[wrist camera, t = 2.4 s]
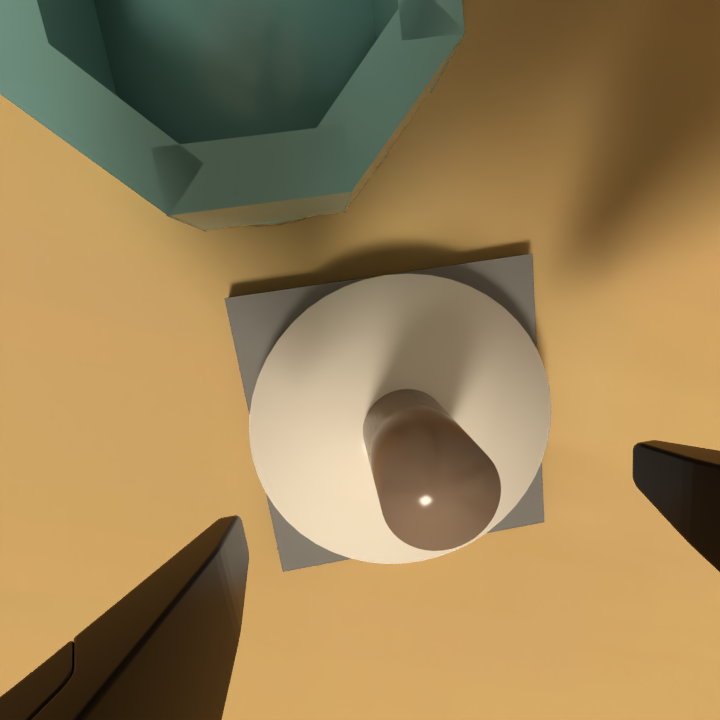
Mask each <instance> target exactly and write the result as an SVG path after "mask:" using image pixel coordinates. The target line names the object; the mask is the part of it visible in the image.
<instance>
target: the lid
mask: <svg viewBox="0 0 720 720" xmlns="http://www.w3.org/2000/svg"><path fill="white" fill-rule="evenodd" d="M550 425H551V397H550V387H549V383H548V379H547V375H546V371H545V368H544V365H543V363H542V360H541V357H540V355H539V352H538V350H537V349H536V347H535V345H534V343H533V342H532V340H531V338H530V336H529V335H528V334H527V332H526V331H525V330H524V328H523V327H522V326H521V325H520V323H519V322H518V321H517V320H516V319H515V318H514V317H513V316H512V315H511V314H510V313H509V312H508V311H507V310H506V309H505V308H504V307H503V306H501V305H500V304H499V303H497V302H496V301H494V300H493V299H492V298H490V297H489V296H487V295H486V294H484V293H482V292H480V291H478V290H476V289H474V288H472V287H470V286H468V285H465V284H462V283H460V282H457V281H454V280H451V279H447V278H442V277H437V276H432V275H423V274H395V275H382V276H377V277H373V278H368V279H363V280H360V281H357V282H355V283H352V284H349V285H346V286H343V287H341V288H339V289H338V290H336V291H334V292H332V293H330V294H328V295H326V296H324V297H323V298H321V299H320V300H319V301H317V302H316V303H314V304H313V305H311V306H310V307H308V308H307V309H306V310H305V311H304V312H303V313H302V314H301V315H300V316H299V317H298V318H296V319H295V320H294V321H293V322H292V324H291V325H290V326H289V327H288V328H287V330H286V331H285V332H284V333H283V334H282V336H281V337H280V338H279V339H278V341H277V342H276V344H275V346H274V347H273V349H272V350H271V352H270V354H269V355H268V357H267V358H266V361H265V363H264V365H263V367H262V369H261V372H260V374H259V376H258V379H257V382H256V386H255V389H254V393H253V396H252V402H251V408H250V415H249V439H250V446H251V453H252V458H253V461H254V465H255V468H256V472H257V475H258V477H259V479H260V482H261V484H262V486H263V488H264V490H265V492H266V494H267V495H268V497H269V499H270V500H271V502H272V503H273V505H274V506H275V508H276V509H277V510H278V511H279V512H280V514H281V515H282V516H283V517H284V518H285V520H286V521H287V522H288V523H289V524H291V525H292V526H293V527H294V528H295V529H296V530H297V531H298V532H300V533H301V534H302V535H304V536H305V537H307V538H308V539H309V540H311V541H312V542H314V543H315V544H317V545H319V546H321V547H323V548H325V549H327V550H329V551H331V552H334V553H336V554H339V555H342V556H345V557H348V558H351V559H356V560H360V561H365V562H372V563H382V564H400V563H410V562H418V561H423V560H427V559H431V558H435V557H439V556H442V555H445V554H447V553H450V552H453V551H455V550H457V549H459V548H461V547H463V546H465V545H467V544H469V543H471V542H473V541H475V540H476V539H478V538H479V537H481V536H482V535H484V534H485V533H487V532H488V531H489V530H491V529H492V528H493V527H494V526H496V525H497V524H498V523H499V522H500V521H502V520H503V519H504V518H505V516H506V515H507V514H508V513H509V512H510V511H511V510H512V509H513V508H514V507H515V506H516V505H517V503H518V502H519V501H520V499H521V498H522V497H523V495H524V494H525V493H526V491H527V489H528V488H529V486H530V484H531V483H532V481H533V479H534V478H535V476H536V473H537V471H538V469H539V467H540V464H541V462H542V460H543V456H544V453H545V450H546V446H547V443H548V438H549V432H550Z"/></svg>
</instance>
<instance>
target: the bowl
mask: <svg viewBox="0 0 720 720" xmlns="http://www.w3.org/2000/svg"><path fill="white" fill-rule="evenodd" d="M464 34H465V30H464V16H463V2H462V0H0V94H1V95H2V96H4V97H5V98H6V99H8V100H9V101H11V102H12V103H13V104H15V105H16V106H18V107H19V108H20V109H22V110H23V111H24V112H26V113H27V114H29V115H30V116H31V117H33V118H34V119H35V120H37V121H38V122H40V123H41V124H42V125H44V126H45V127H47V128H48V129H49V130H51V131H52V132H53V133H55V134H56V135H58V136H59V137H60V138H62V139H63V140H64V141H66V142H67V143H69V144H70V145H71V146H73V147H74V148H76V149H77V150H78V151H80V152H81V153H82V154H84V155H85V156H87V157H88V158H89V159H91V160H92V161H93V162H95V163H96V164H98V165H99V166H100V167H102V168H103V169H105V170H106V171H107V172H109V173H110V174H111V175H113V176H114V177H116V178H117V179H118V180H120V181H121V182H122V183H124V184H125V185H127V186H128V187H129V188H131V189H132V190H134V191H135V192H136V193H138V194H139V195H140V196H142V197H143V198H145V199H146V200H147V201H149V202H150V203H151V204H153V205H154V206H156V207H157V208H158V209H160V210H161V211H163V212H164V213H165V214H167V216H169V217H171V218H173V219H176V220H178V221H181V222H183V223H186V224H188V225H191V226H193V227H196V228H198V229H200V230H203V231H207V230H215V229H222V228H230V227H237V226H271V225H281V224H286V223H291V222H296V221H300V220H303V219H306V218H308V217H312V216H319V215H327V214H334V213H342V212H346V210H347V208H348V207H349V205H350V204H351V203H352V201H353V200H354V198H355V197H356V196H357V194H358V193H359V191H360V190H361V189H362V187H363V186H364V184H365V183H366V182H367V180H368V179H369V177H370V176H371V175H372V174H373V172H374V171H375V170H376V169H377V168H378V166H379V165H380V164H381V163H382V161H383V160H384V158H385V157H386V155H387V153H388V152H389V150H390V149H391V147H392V145H393V144H394V142H395V141H396V139H397V138H398V137H399V135H400V134H401V132H402V131H403V130H404V128H405V127H406V125H407V124H408V123H409V121H410V120H411V118H412V117H413V116H414V114H415V113H416V111H417V110H418V109H419V107H420V106H421V104H422V103H423V102H424V100H425V99H426V97H427V96H428V95H429V93H431V91H432V90H433V88H434V86H435V84H436V83H437V81H438V79H439V77H440V76H441V74H442V72H443V71H444V69H445V67H446V65H447V64H448V62H449V60H450V58H451V57H452V55H453V53H454V52H455V50H456V48H457V46H458V45H459V43H460V41H461V40H462V38H463V36H464Z"/></svg>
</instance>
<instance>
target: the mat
mask: <svg viewBox="0 0 720 720" xmlns="http://www.w3.org/2000/svg"><path fill="white" fill-rule="evenodd" d="M395 274H423V275H432V276H437V277H442V278H447V279H451V280H454V281H457V282H460V283H462V284H465V285H468V286H470V287H472V288H474V289H476V290H478V291H480V292H482V293H484V294H486V295H487V296H489V297H490V298H492V299H493V300H494V301H496V302H497V303H499V304H500V305H501V306H503V307H504V308H505V309H506V310H507V311H508V312H509V313H510V314H511V315H512V316H513V317H514V318H515V319H516V320H517V321H518V322H519V323H520V325H521V326H522V327H523V328H524V330H525V331H526V332H527V334H528V335H529V336H530V338H531V340H532V342H533V343H534V345H535V347H536V325H535V302H534V279H533V257H532V254H526V255H519V256H512V257H505V258H498V259H491V260H484V261H477V262H470V263H463V264H456V265H450V266H443V267H436V268H429V269H422V270H415V271H408V272H401V273H394V274H387V275H395ZM381 276H382V275H381ZM374 277H377V276H374ZM368 278H373V277H367V278H360V279H353V280H346V281H339V282H332V283H325V284H319V285H312V286H305V287H298V288H291V289H284V290H277V291H270V292H263V293H256V294H250V295H243V296H236V297H229V298H225V303H226V308H227V312H228V317H229V322H230V326H231V331H232V336H233V340H234V345H235V350H236V354H237V359H238V364H239V369H240V373H241V378H242V383H243V387H244V392H245V397H246V401H247V406H248V411H249V415H250V408H251V402H252V396H253V393H254V389H255V386H256V382H257V379H258V376H259V374H260V372H261V369H262V367H263V365H264V363H265V361H266V358H267V357H268V355H269V354H270V352H271V350H272V349H273V347H274V346H275V344H276V342H277V341H278V339H279V338H280V337H281V336H282V334H283V333H284V332H285V331H286V330H287V328H288V327H289V326H290V325H291V324H292V322H293V321H294V320H295V319H296V318H298V317H299V316H300V315H301V314H302V313H303V312H304V311H305V310H306V309H307V308H308V307H310V306H311V305H313V304H314V303H316V302H317V301H319V300H320V299H321V298H323V297H324V296H326V295H328V294H330V293H332V292H334V291H336V290H338V289H339V288H341V287H343V286H346V285H349V284H352V283H355V282H357V281H360V280H363V279H368ZM536 349H537V347H536ZM266 495H267V494H266ZM267 500H268V505H269V509H270V514H271V519H272V523H273V528H274V533H275V537H276V542H277V547H278V551H279V556H280V561H281V565H282V570H283V572H284V571H290V570H295V569H300V568H305V567H311V566H316V565H321V564H327V563H332V562H337V561H342V560H348V559H351V558H348V557H345V556H342V555H339V554H336V553H334V552H331V551H329V550H327V549H325V548H323V547H321V546H319V545H317V544H315V543H314V542H312V541H311V540H309V539H308V538H307V537H305V536H304V535H302V534H301V533H300V532H298V531H297V530H296V529H295V528H294V527H293V526H292V525H291V524H289V523H288V522H287V521H286V520H285V518H284V517H283V516H282V515H281V514H280V512H279V511H278V510H277V509H276V508H275V506H274V505H273V503H272V502H271V500H270V499H269V497H268V495H267ZM542 522H544V505H543V483H542V462H541V464H540V467H539V469H538V471H537V473H536V476H535V478H534V479H533V481H532V483H531V484H530V486H529V488H528V489H527V491H526V493H525V494H524V495H523V497H522V498H521V499H520V501H519V502H518V503H517V505H516V506H515V507H514V508H513V509H512V510H511V511H510V512H509V513H508V514H507V515H506V516H505V518H504V519H503V520H502V521H500V522H499V523H498V524H497V525H496V526H494V527H493V528H492V529H491V530H489V531H488V532H487V533H490V532H495V531H500V530H505V529H511V528H516V527H521V526H527V525H532V524H537V523H542Z"/></svg>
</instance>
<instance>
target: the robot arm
mask: <svg viewBox="0 0 720 720" xmlns="http://www.w3.org/2000/svg"><path fill="white" fill-rule="evenodd" d="M633 480H634V482H635V484H636V486H637V487H638V489H639V490H640V491H641V492H642V493H643V494H644V495H645V496H646V497H647V498H648V500H649V501H650V502H651V503H652V504H653V505H654V506H655V507H656V508H657V509H658V510H659V511H660V513H661V514H662V515H663V516H664V517H665V518H666V519H667V520H668V521H669V522H670V523H671V525H672V526H673V527H674V528H675V529H676V530H677V531H678V532H679V533H680V534H681V535H682V536H683V537H684V538H685V539H686V540H687V542H688V543H689V544H690V545H691V546H692V547H694V548H695V549H696V550H697V551H698V552H699V553H700V554H701V555H702V556H703V557H704V558H705V559H706V560H707V561H708V562H710V563H711V564H712V565H713V566H714V567H715V568H716V569H717V570H718V571H719V572H720V451H717V450H711V449H705V448H699V447H693V446H687V445H681V444H675V443H669V442H663V441H656V440H652V441H646V442H640V443H637V444H636V445H635V446H634V448H633ZM248 562H249V551H248V546H247V541H246V537H245V533H244V528H243V524H242V520H241V518H240V517H239V516H236V515H235V516H229V517H224V518H220V519H218V520H217V521H216V522H215V523H213V524H212V525H211V526H210V527H209V528H207V529H206V530H205V531H204V532H202V533H201V534H200V535H199V536H198V537H196V538H195V539H194V540H193V541H192V542H190V543H189V544H188V545H187V546H185V547H184V548H183V549H182V550H181V551H179V552H178V553H177V554H176V555H174V556H173V557H172V558H171V559H170V560H168V561H167V562H166V563H165V564H163V565H162V566H161V567H160V568H159V569H157V570H156V571H155V572H154V573H153V574H151V575H150V576H149V577H148V578H146V579H145V580H144V581H143V582H142V583H140V584H139V585H138V586H137V587H135V588H134V589H133V590H132V591H131V592H129V593H128V594H127V595H126V596H124V597H123V598H122V599H121V600H120V601H118V602H117V603H116V604H115V605H114V606H112V607H111V608H110V609H109V610H107V611H106V612H105V613H104V614H103V615H101V616H100V617H99V618H98V619H96V620H95V621H94V622H93V623H92V624H90V625H89V626H88V627H87V628H85V629H84V630H83V631H82V632H81V633H79V634H78V635H77V636H76V637H75V638H74V642H73V641H70V642H68V643H67V644H66V645H65V646H63V647H62V648H61V649H60V650H59V651H57V652H56V653H55V654H54V655H53V656H51V657H50V658H49V659H48V660H46V661H45V662H44V663H43V664H41V665H40V666H39V667H38V668H36V669H35V670H34V671H33V672H31V673H30V674H29V675H28V676H26V677H25V678H24V679H23V680H21V681H20V682H19V683H18V684H16V685H15V686H14V687H13V688H11V689H10V690H9V691H8V692H6V693H5V694H4V695H2V696H1V697H0V720H221V719H222V715H223V710H224V706H225V701H226V697H227V692H228V688H229V683H230V679H231V674H232V670H233V665H234V661H235V656H236V652H237V647H238V642H239V637H240V632H241V624H242V616H243V607H244V598H245V589H246V580H247V571H248Z"/></svg>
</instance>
